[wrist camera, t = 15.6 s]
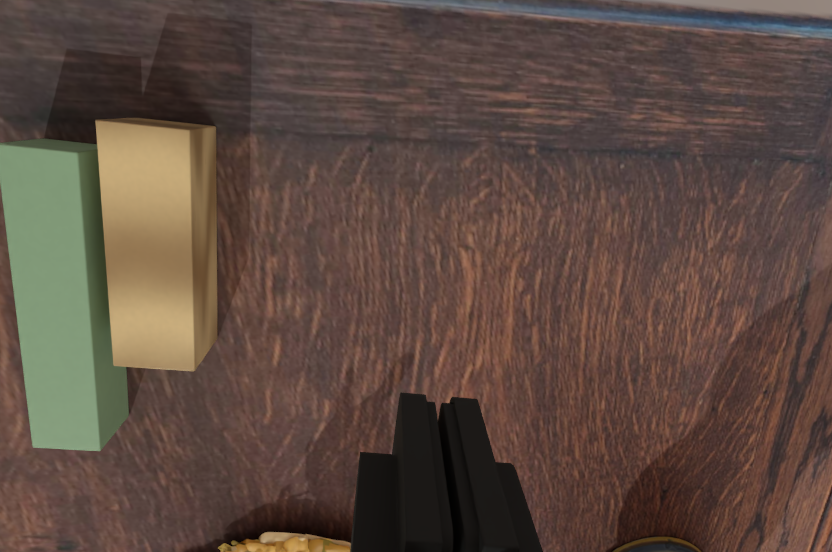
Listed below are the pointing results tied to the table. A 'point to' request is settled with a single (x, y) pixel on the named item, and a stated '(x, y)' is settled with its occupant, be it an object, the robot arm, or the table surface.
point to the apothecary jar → (658, 545)
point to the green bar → (62, 292)
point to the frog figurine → (287, 544)
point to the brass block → (159, 240)
